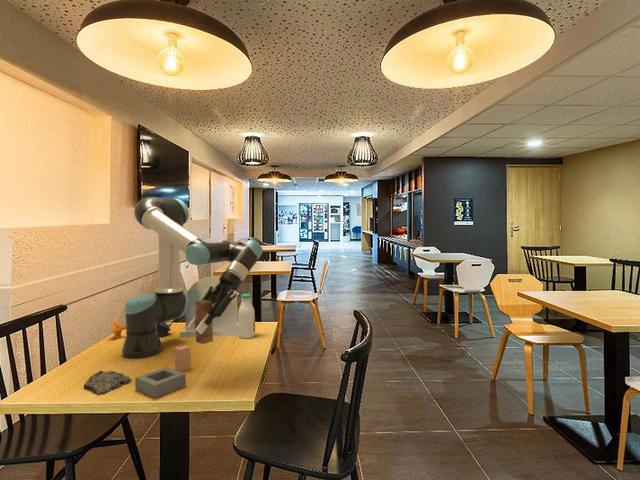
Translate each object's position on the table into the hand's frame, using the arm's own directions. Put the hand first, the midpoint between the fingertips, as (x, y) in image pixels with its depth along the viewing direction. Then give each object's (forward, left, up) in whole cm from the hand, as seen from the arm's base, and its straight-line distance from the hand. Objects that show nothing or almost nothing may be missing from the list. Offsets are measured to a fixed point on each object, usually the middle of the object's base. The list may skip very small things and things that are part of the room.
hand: (194, 330), depth 130 cm
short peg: (-14, +5, -18) cm, 23 cm away
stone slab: (-25, -18, -18) cm, 36 cm away
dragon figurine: (-65, +20, -18) cm, 70 cm away
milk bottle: (-23, +47, -18) cm, 55 cm away
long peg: (0, +4, -5) cm, 6 cm away
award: (-41, +41, -18) cm, 61 cm away
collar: (-6, -9, -18) cm, 21 cm away
